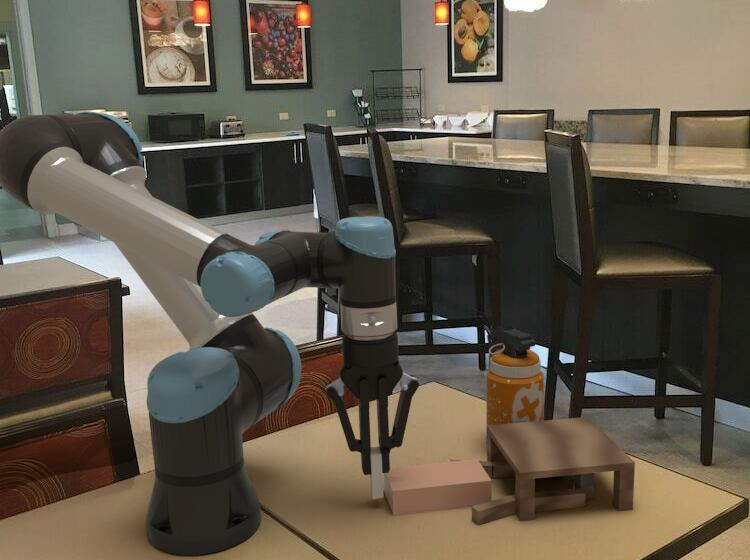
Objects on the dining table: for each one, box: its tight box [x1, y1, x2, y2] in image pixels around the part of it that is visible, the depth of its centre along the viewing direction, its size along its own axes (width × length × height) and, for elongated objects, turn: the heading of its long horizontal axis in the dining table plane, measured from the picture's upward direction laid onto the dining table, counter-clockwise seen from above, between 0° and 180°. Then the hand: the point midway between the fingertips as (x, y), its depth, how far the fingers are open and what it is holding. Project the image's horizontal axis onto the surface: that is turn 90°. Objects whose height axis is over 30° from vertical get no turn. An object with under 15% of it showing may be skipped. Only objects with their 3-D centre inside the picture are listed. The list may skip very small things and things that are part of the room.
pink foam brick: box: [383, 458, 493, 516], centre depth 113 cm, size 14×7×4 cm, turn 100°
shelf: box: [449, 416, 636, 526], centre depth 114 cm, size 22×16×7 cm
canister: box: [485, 324, 545, 445], centre depth 127 cm, size 9×11×20 cm
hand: (376, 493), depth 111 cm, fingers closed
